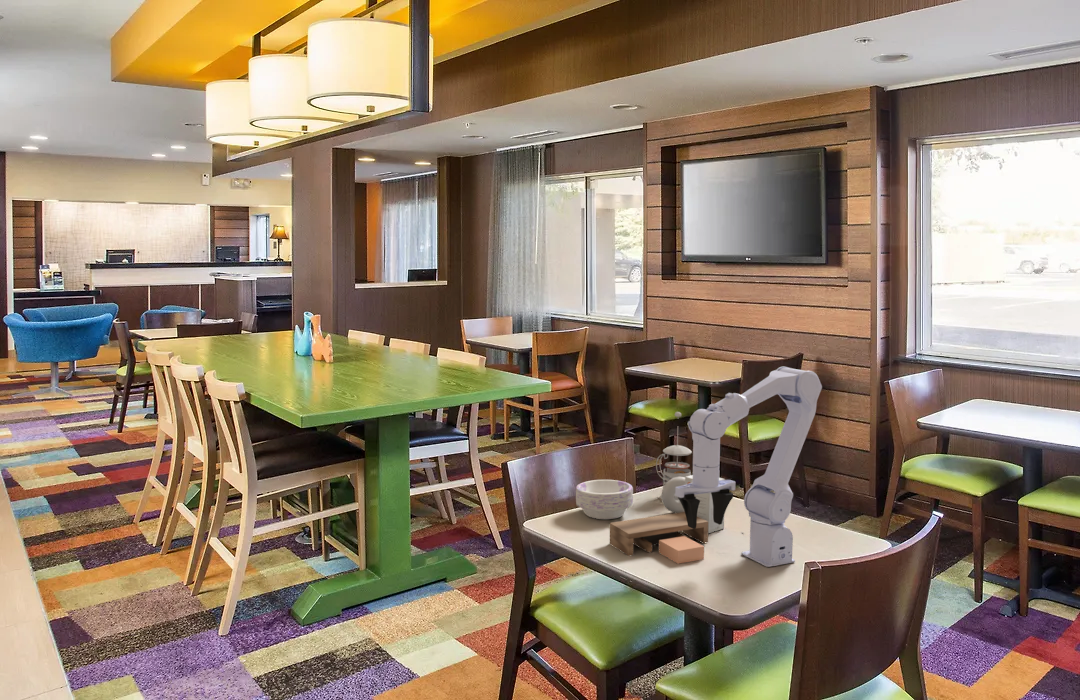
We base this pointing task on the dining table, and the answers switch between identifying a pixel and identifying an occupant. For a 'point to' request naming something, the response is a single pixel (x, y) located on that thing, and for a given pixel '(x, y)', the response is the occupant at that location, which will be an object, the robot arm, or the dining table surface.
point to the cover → (681, 549)
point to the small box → (706, 508)
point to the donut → (672, 495)
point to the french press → (677, 465)
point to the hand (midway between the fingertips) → (704, 525)
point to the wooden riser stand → (654, 531)
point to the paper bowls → (604, 498)
